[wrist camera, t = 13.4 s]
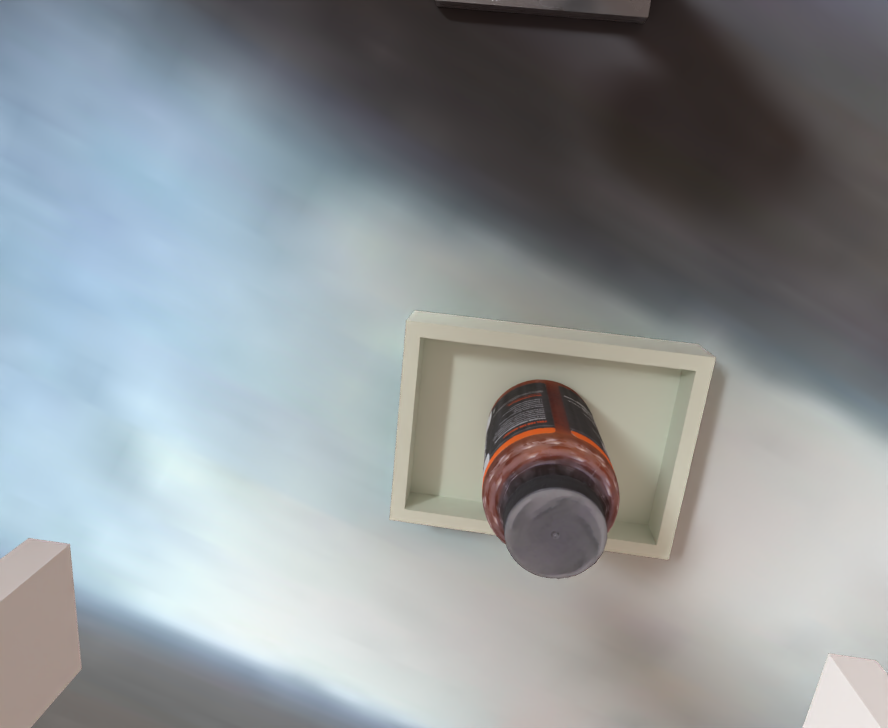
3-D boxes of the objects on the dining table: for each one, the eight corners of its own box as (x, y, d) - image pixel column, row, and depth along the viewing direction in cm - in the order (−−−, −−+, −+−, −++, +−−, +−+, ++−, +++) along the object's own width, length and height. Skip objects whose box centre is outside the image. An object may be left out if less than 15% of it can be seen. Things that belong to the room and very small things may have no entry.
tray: (398, 495, 37) (389, 519, 34) (414, 310, 34) (406, 320, 31) (656, 531, 36) (668, 560, 33) (698, 343, 32) (716, 357, 30)
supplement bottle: (465, 435, 34) (446, 545, 24) (528, 355, 33) (538, 433, 22) (549, 493, 35) (567, 627, 24) (615, 417, 33) (667, 523, 22)
